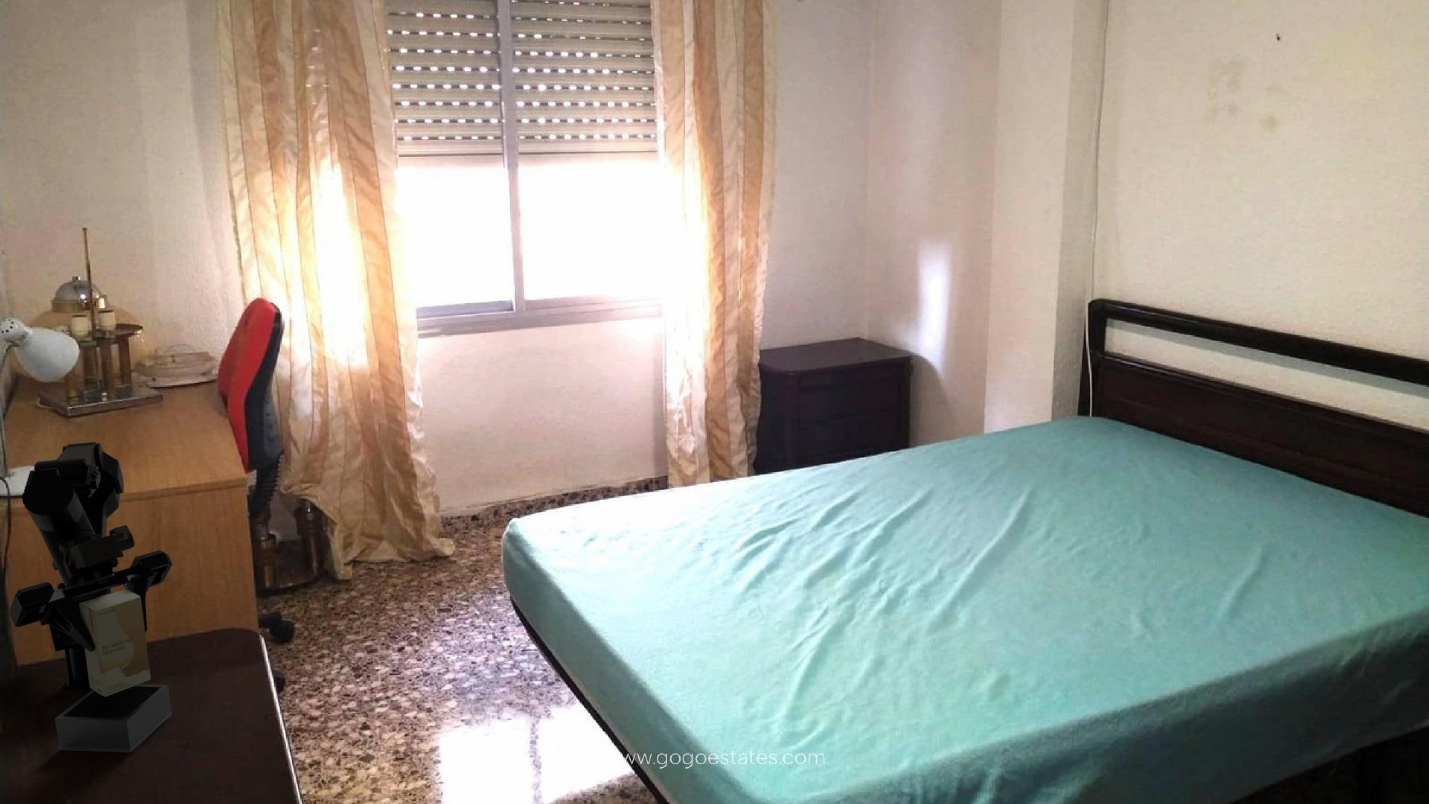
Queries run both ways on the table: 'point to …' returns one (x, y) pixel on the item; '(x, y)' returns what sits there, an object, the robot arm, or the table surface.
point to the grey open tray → (113, 719)
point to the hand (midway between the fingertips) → (119, 641)
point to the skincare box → (115, 642)
